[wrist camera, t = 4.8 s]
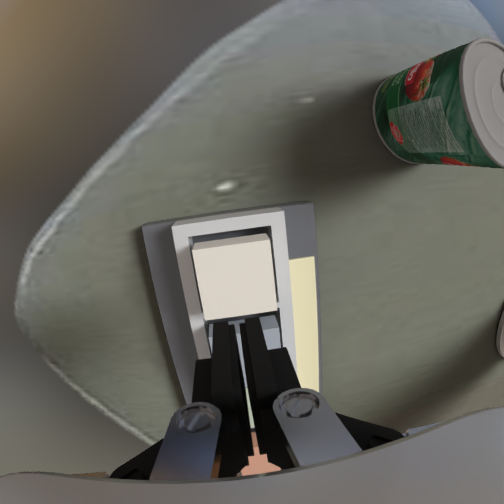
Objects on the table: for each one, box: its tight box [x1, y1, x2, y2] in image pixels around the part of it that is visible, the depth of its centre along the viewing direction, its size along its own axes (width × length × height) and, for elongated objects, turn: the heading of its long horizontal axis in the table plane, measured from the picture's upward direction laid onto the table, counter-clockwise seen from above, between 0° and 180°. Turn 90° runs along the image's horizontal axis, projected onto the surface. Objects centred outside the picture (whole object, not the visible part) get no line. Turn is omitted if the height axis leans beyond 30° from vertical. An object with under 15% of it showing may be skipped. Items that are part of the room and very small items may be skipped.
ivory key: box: [192, 233, 277, 320], centre depth 19 cm, size 4×4×2 cm
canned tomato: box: [372, 38, 504, 168], centre depth 17 cm, size 8×8×11 cm
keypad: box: [142, 201, 322, 433], centre depth 24 cm, size 12×24×4 cm, turn 7°
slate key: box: [209, 315, 281, 388], centre depth 21 cm, size 4×4×2 cm
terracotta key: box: [241, 432, 281, 476], centre depth 24 cm, size 4×4×2 cm
